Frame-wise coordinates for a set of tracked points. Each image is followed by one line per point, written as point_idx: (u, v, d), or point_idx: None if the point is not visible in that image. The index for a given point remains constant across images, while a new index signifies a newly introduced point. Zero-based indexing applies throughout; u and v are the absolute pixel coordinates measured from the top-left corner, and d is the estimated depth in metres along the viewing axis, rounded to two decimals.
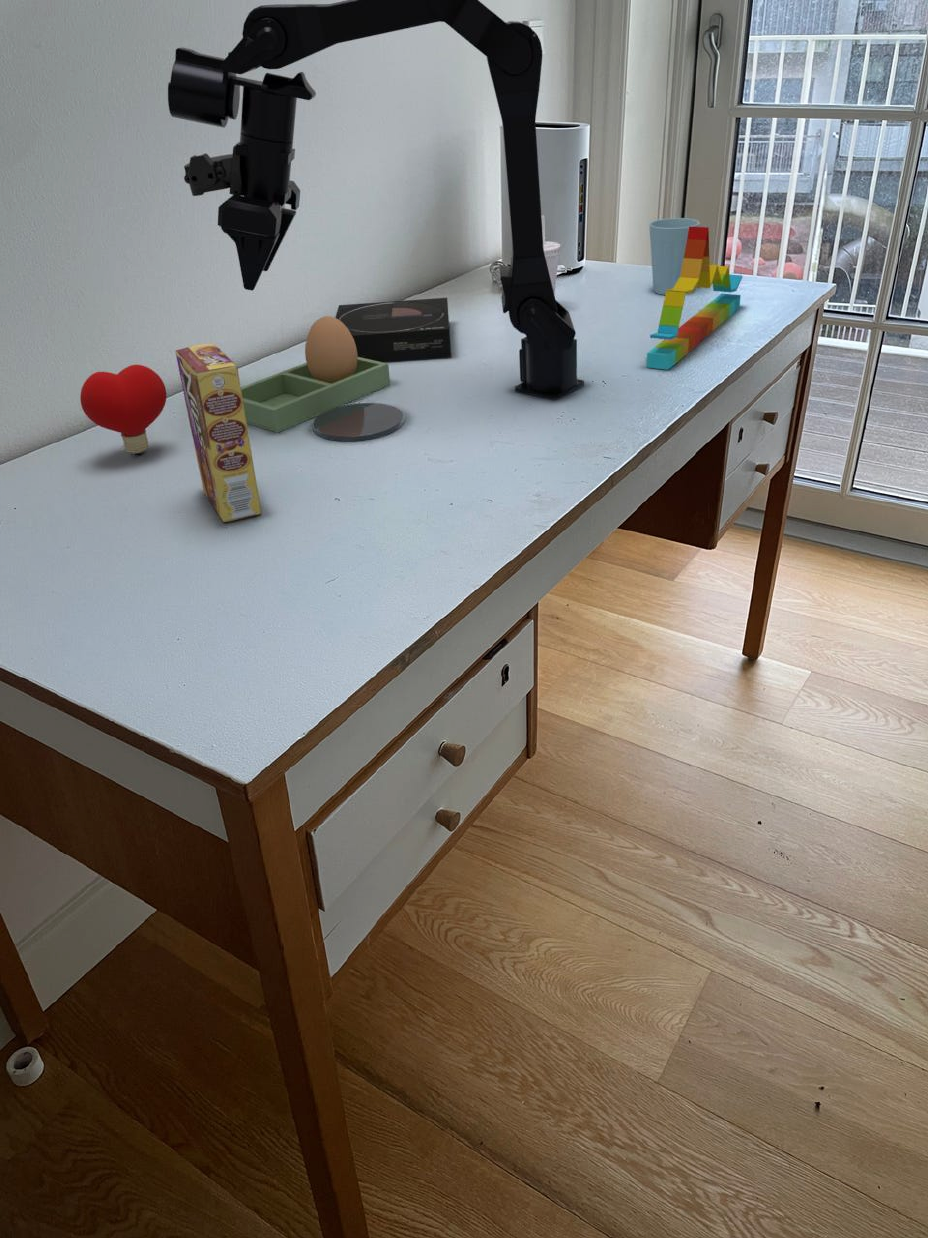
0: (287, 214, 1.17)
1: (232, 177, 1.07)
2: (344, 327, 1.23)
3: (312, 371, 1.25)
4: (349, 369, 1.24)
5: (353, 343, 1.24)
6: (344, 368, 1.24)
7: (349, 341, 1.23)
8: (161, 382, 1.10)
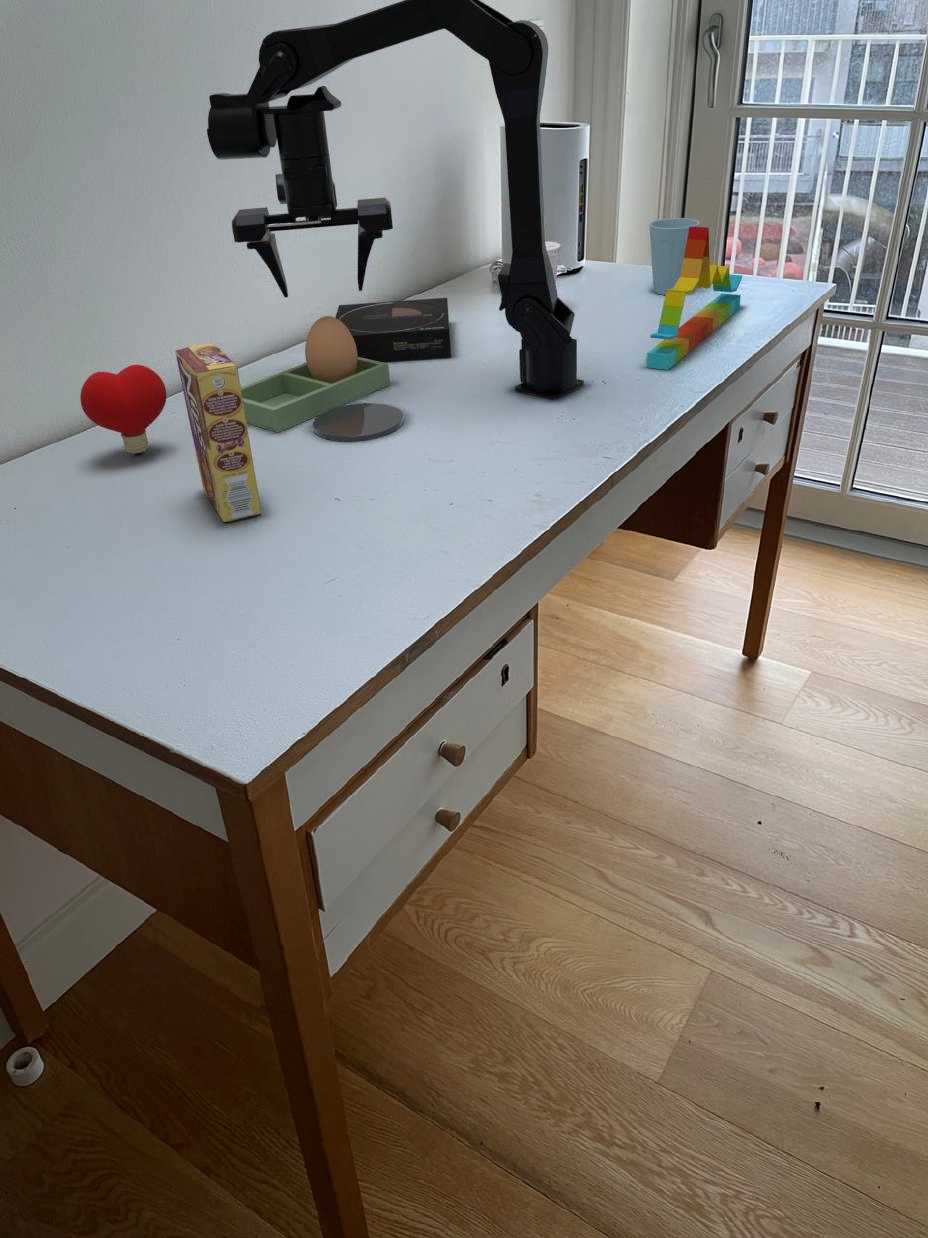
0: (358, 235, 1.16)
1: None
2: (344, 327, 1.23)
3: (312, 371, 1.25)
4: (349, 369, 1.24)
5: (353, 343, 1.24)
6: (344, 368, 1.24)
7: (349, 341, 1.23)
8: (161, 382, 1.10)
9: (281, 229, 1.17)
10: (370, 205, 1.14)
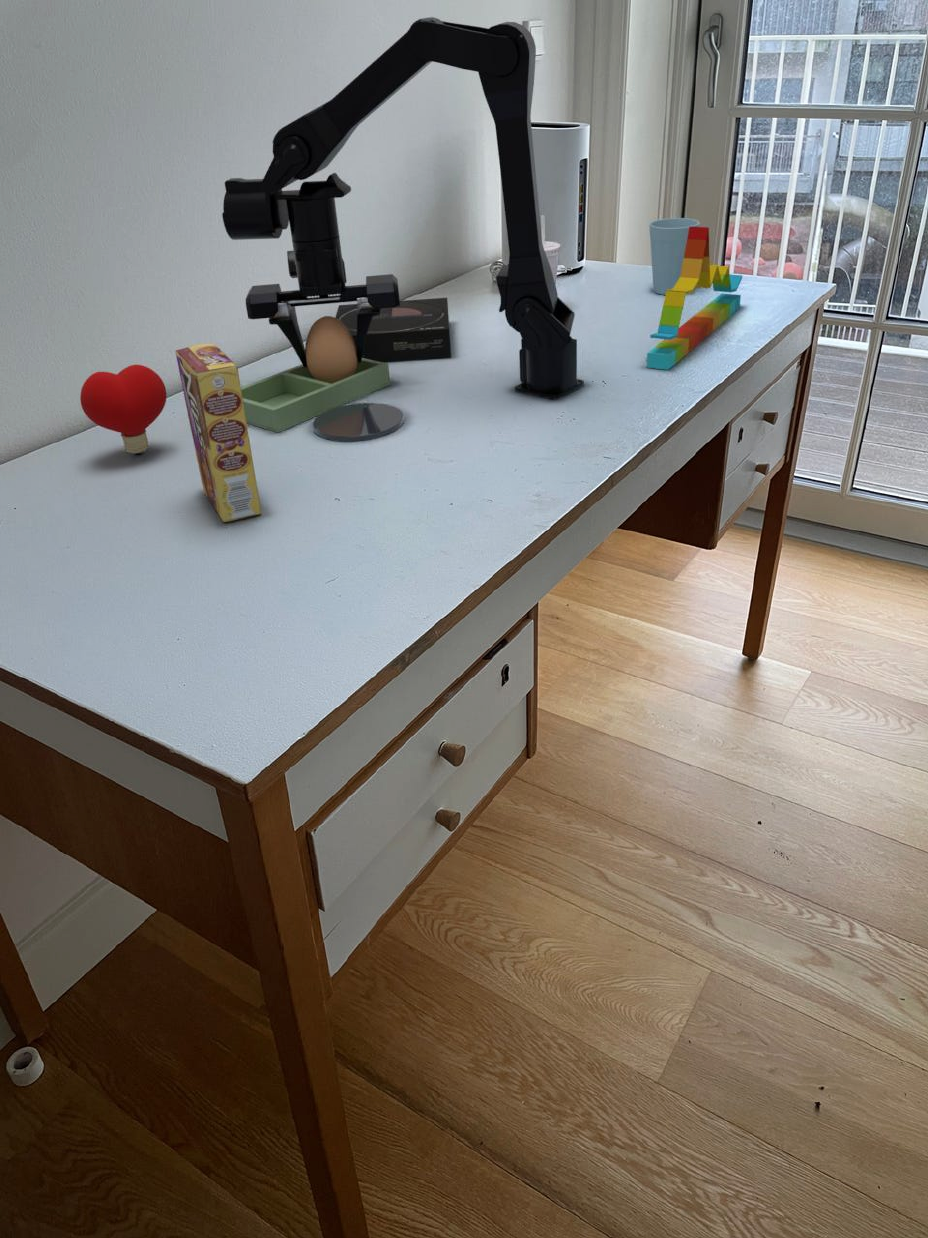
0: (357, 312, 1.21)
1: None
2: (344, 327, 1.23)
3: (312, 371, 1.25)
4: (349, 369, 1.24)
5: (353, 343, 1.24)
6: (344, 368, 1.24)
7: (349, 341, 1.23)
8: (161, 382, 1.10)
9: (293, 305, 1.21)
10: (378, 284, 1.19)
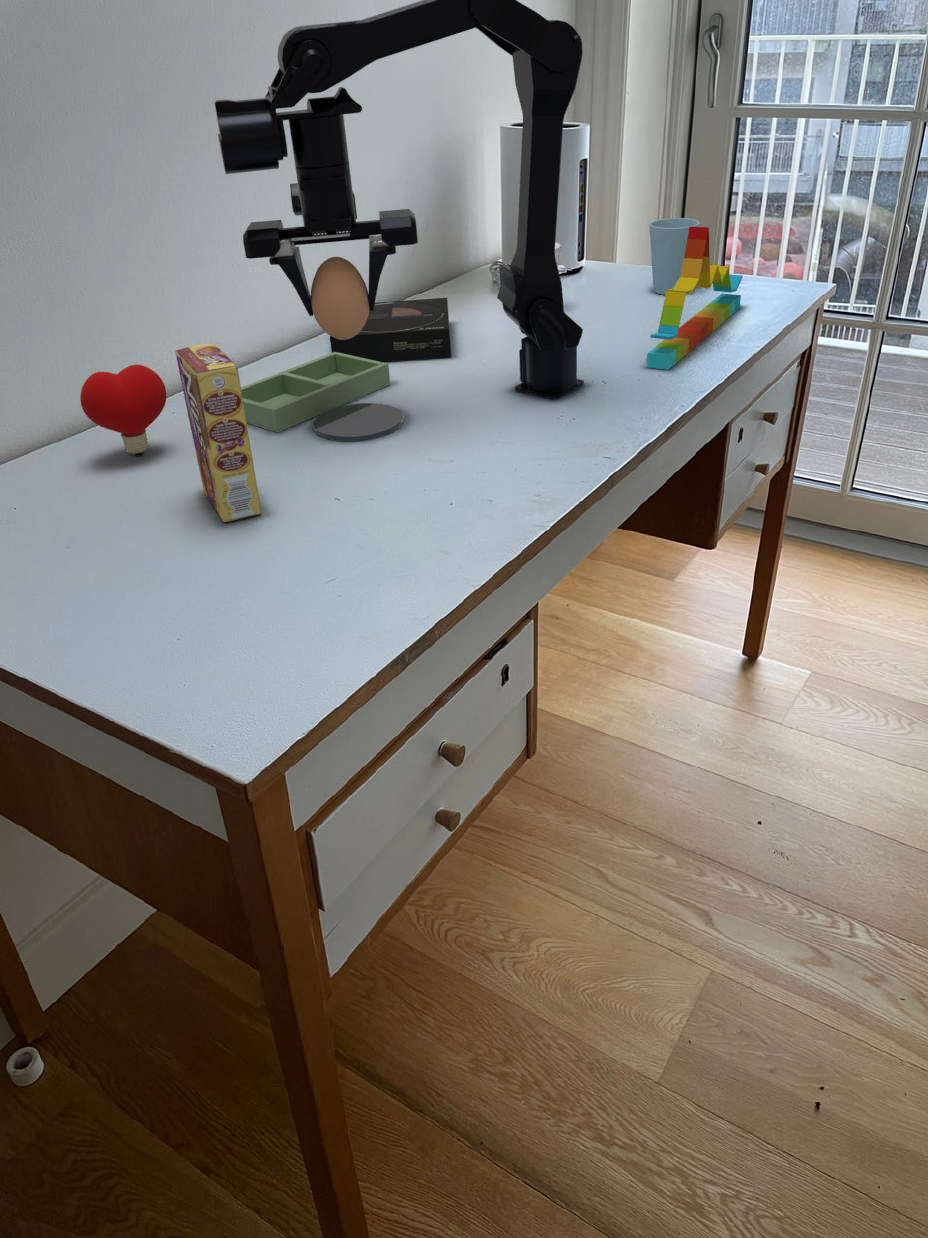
0: (370, 251, 1.07)
1: None
2: (355, 269, 1.09)
3: (318, 319, 1.11)
4: (360, 317, 1.10)
5: (365, 288, 1.10)
6: (354, 315, 1.10)
7: (360, 285, 1.09)
8: (161, 382, 1.10)
9: (297, 244, 1.07)
10: (393, 217, 1.05)
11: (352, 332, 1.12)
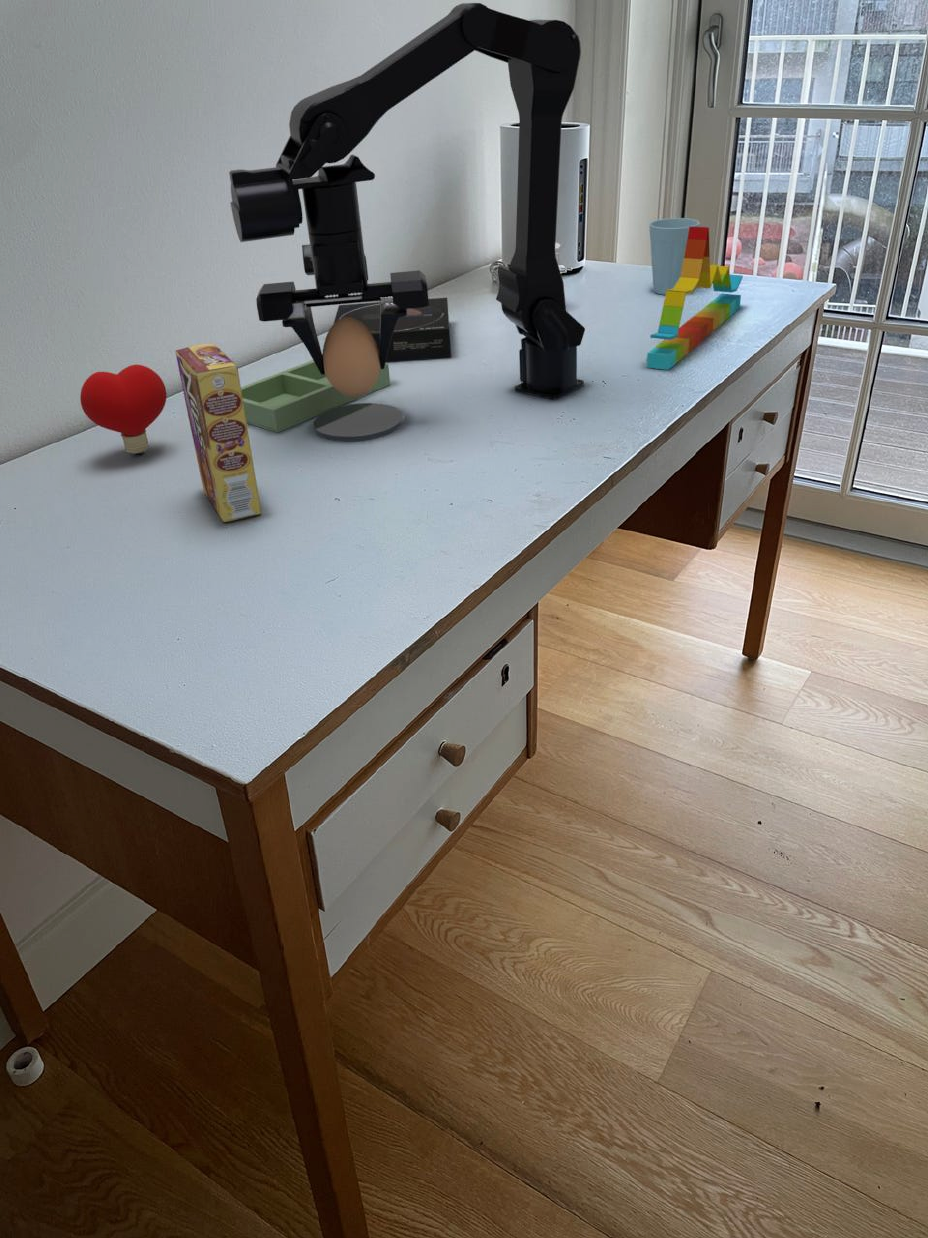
0: (381, 313, 1.08)
1: None
2: (366, 330, 1.11)
3: (330, 378, 1.12)
4: (371, 376, 1.12)
5: (376, 347, 1.12)
6: (366, 375, 1.11)
7: (371, 346, 1.11)
8: (161, 382, 1.10)
9: (309, 306, 1.09)
10: (405, 281, 1.07)
11: (364, 391, 1.13)
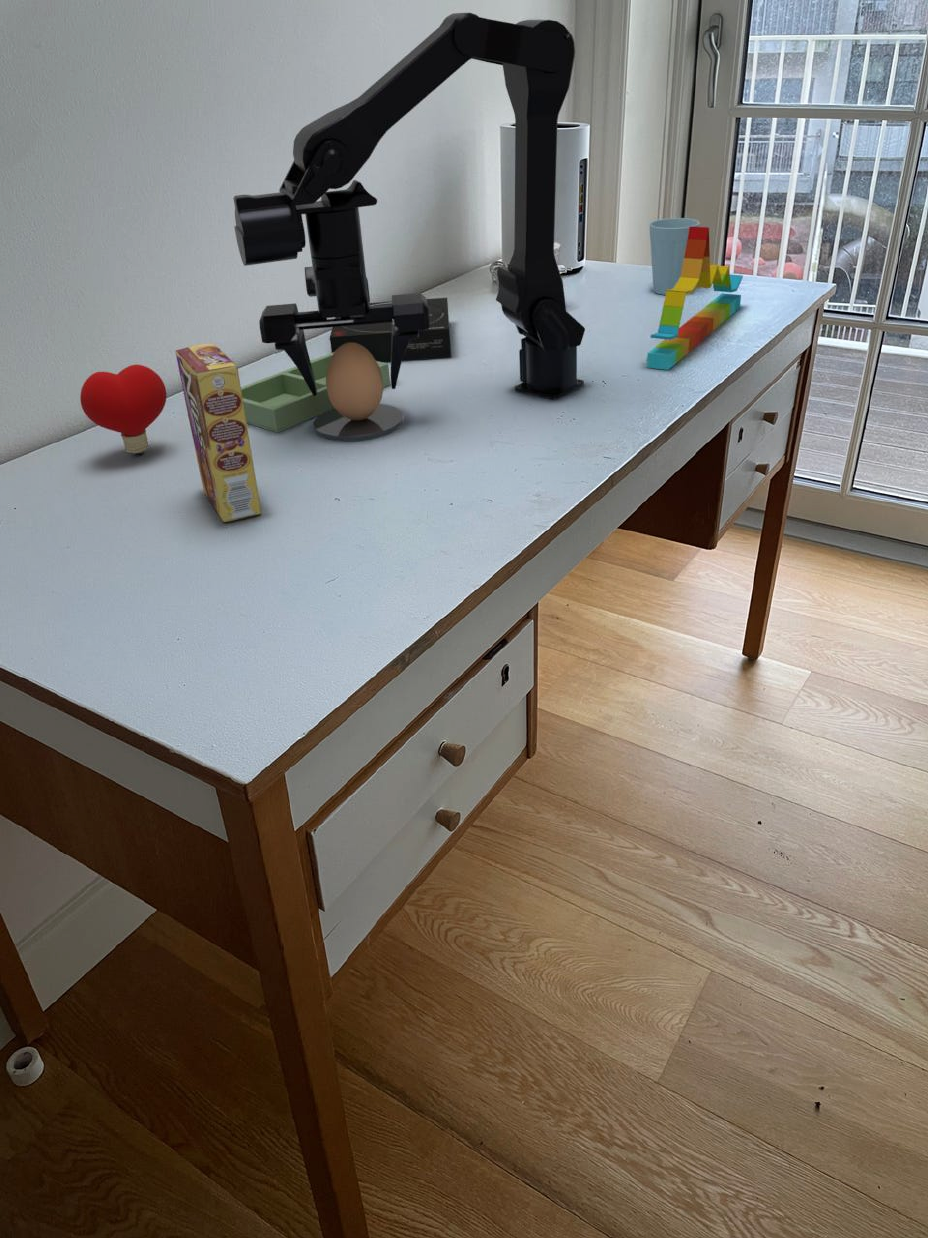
0: (393, 334, 1.09)
1: None
2: (369, 354, 1.12)
3: (333, 402, 1.14)
4: (374, 400, 1.13)
5: (379, 372, 1.13)
6: (369, 399, 1.13)
7: (374, 370, 1.12)
8: (161, 382, 1.10)
9: (311, 328, 1.10)
10: (406, 304, 1.08)
11: (366, 414, 1.15)
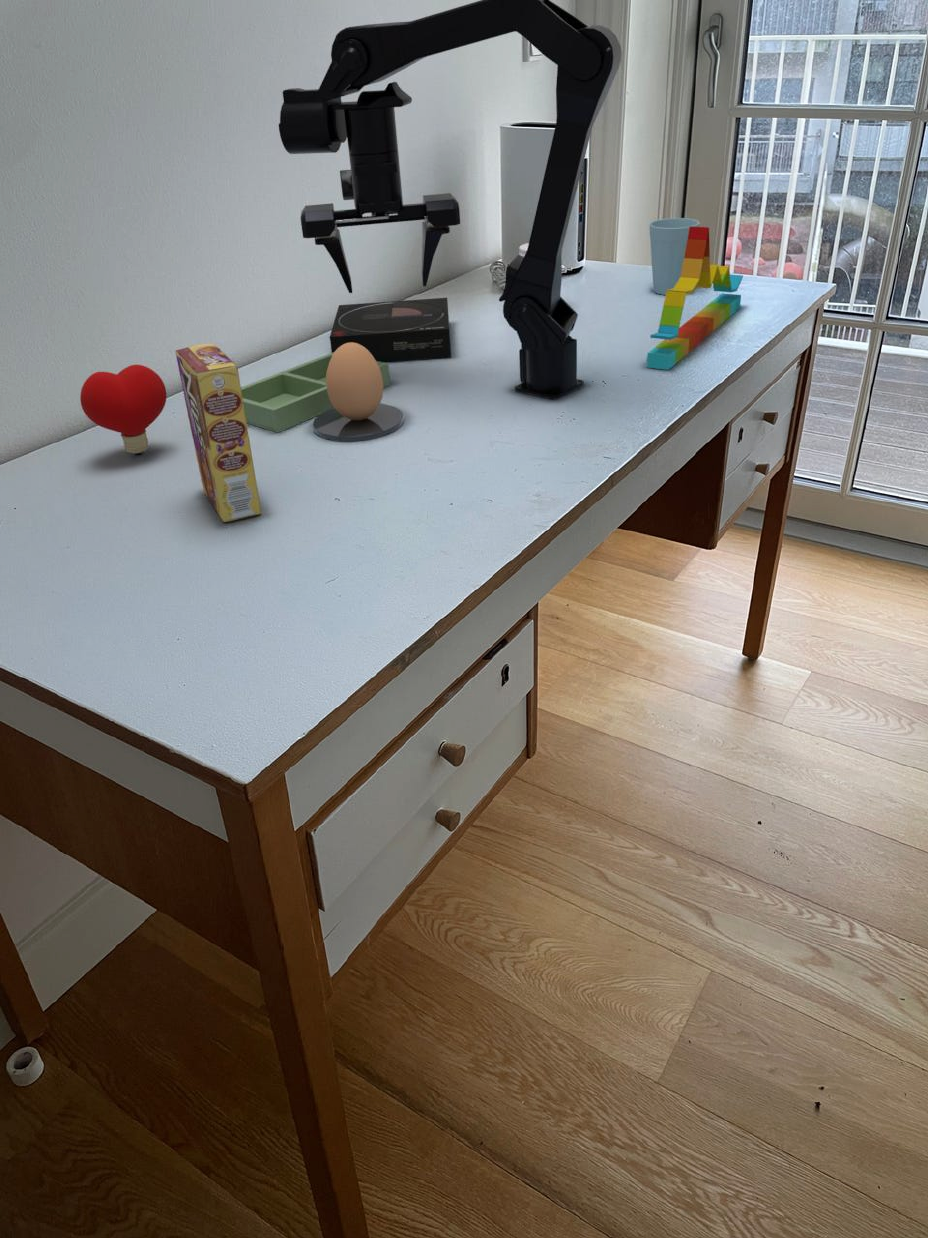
0: (426, 230, 1.16)
1: None
2: (369, 354, 1.12)
3: (333, 402, 1.14)
4: (374, 400, 1.13)
5: (379, 372, 1.13)
6: (369, 399, 1.13)
7: (374, 370, 1.12)
8: (161, 382, 1.10)
9: (349, 225, 1.17)
10: (438, 200, 1.15)
11: (366, 414, 1.15)
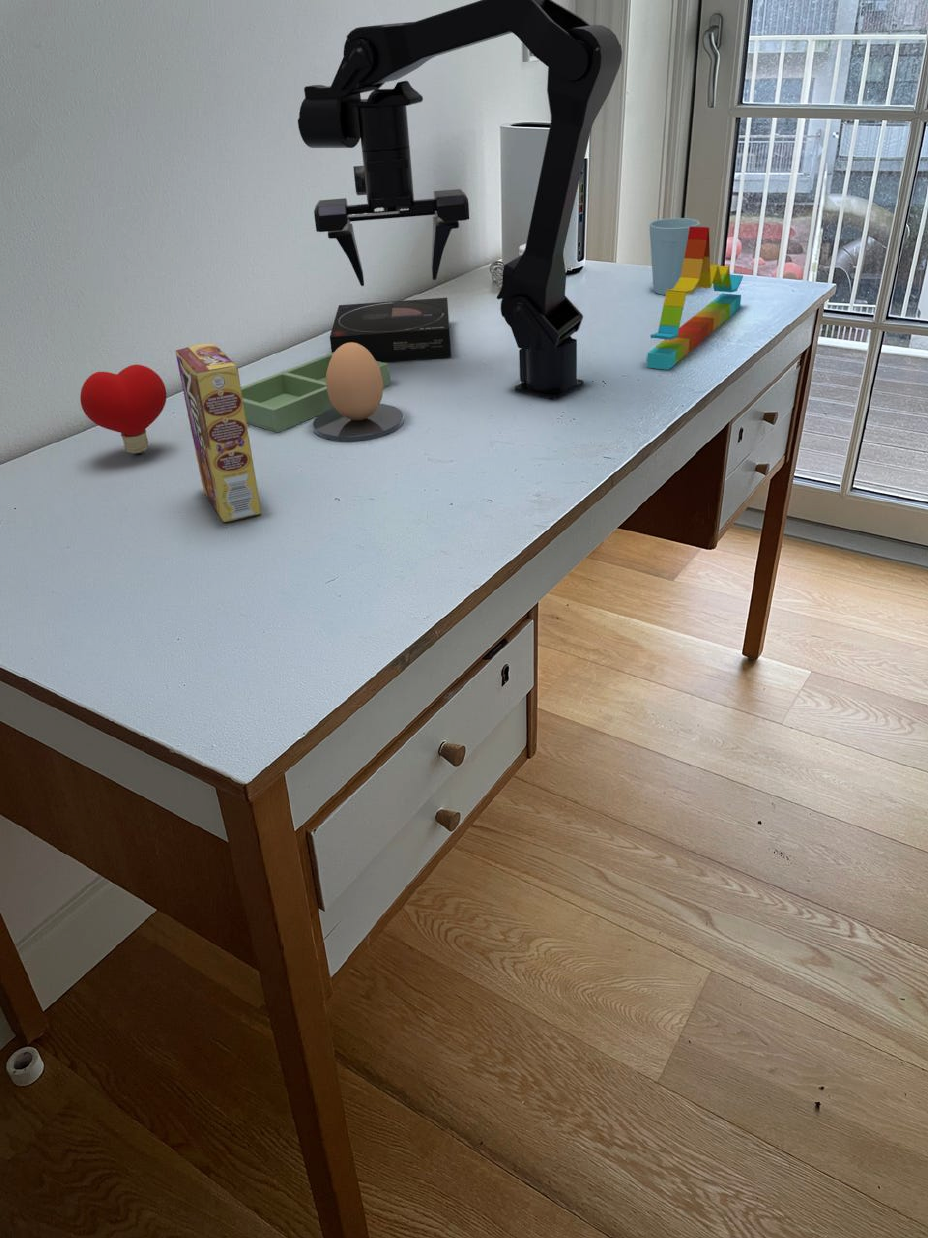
0: (436, 225, 1.20)
1: None
2: (369, 354, 1.12)
3: (333, 402, 1.14)
4: (374, 400, 1.13)
5: (379, 372, 1.13)
6: (369, 399, 1.13)
7: (374, 370, 1.12)
8: (161, 382, 1.10)
9: (361, 220, 1.20)
10: (448, 196, 1.18)
11: (366, 414, 1.15)
